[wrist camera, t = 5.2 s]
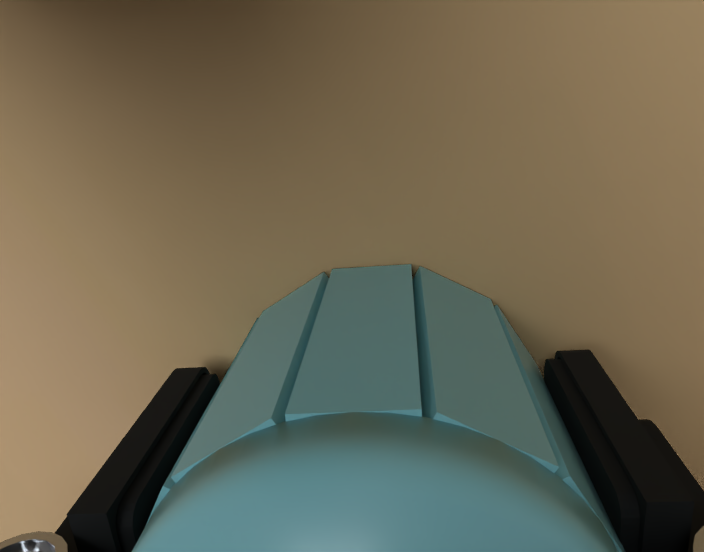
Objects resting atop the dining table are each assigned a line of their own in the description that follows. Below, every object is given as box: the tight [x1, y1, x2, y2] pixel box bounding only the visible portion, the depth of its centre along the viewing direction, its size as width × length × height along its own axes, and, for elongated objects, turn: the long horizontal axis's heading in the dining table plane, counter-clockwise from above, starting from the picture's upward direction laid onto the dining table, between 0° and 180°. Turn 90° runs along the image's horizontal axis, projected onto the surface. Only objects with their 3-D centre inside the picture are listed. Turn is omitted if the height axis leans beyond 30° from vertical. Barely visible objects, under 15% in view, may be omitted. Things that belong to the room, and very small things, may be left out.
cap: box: [132, 264, 625, 552], centre depth 9 cm, size 6×6×6 cm
